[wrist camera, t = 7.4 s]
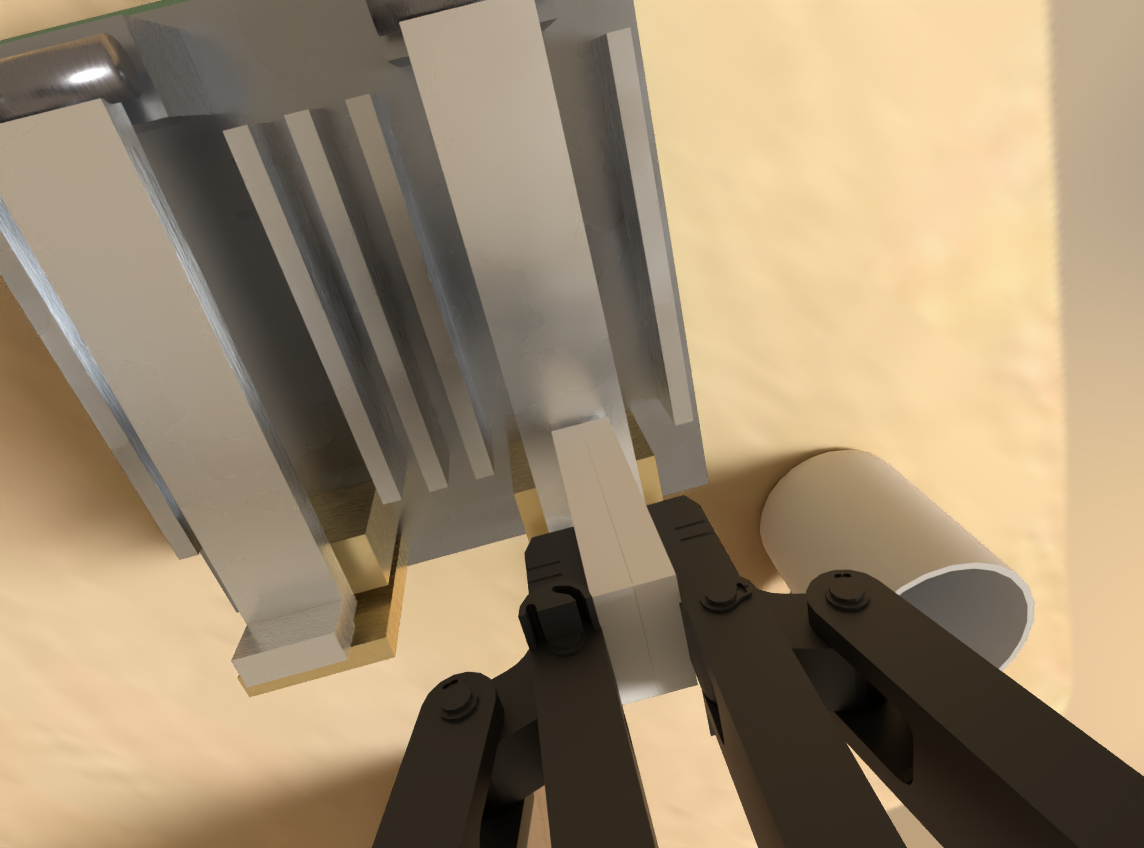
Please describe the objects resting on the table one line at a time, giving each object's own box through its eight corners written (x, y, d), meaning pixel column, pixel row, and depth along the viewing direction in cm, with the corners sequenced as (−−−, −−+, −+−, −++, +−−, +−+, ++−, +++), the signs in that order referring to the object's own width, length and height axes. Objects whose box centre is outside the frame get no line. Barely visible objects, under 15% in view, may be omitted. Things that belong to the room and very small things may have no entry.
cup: (924, 466, 32) (1073, 585, 24) (824, 622, 36) (924, 770, 28) (800, 427, 30) (917, 542, 22) (707, 596, 34) (779, 747, 26)
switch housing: (269, 575, 30) (182, 782, 21) (-24, 49, 20) (-420, 7, 11) (700, 457, 30) (799, 611, 21) (609, -109, 21) (719, -271, 12)
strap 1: (255, 632, 20) (229, 692, 18) (-59, 81, 14) (-159, 73, 12) (376, 598, 20) (365, 654, 18) (121, 36, 14) (55, 20, 12)
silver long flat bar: (543, 563, 20) (550, 614, 18) (364, -24, 14) (342, -55, 12) (664, 530, 20) (686, 576, 18) (538, -67, 14) (548, -107, 12)
